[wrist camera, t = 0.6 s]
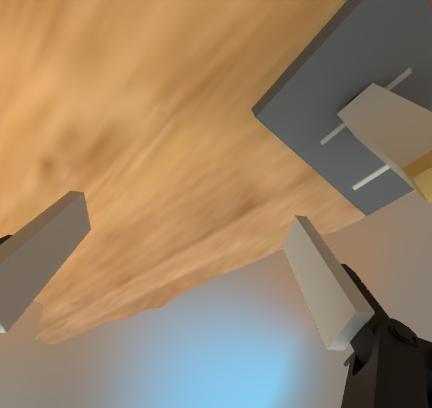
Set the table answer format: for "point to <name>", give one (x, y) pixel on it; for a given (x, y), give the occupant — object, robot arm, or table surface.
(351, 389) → the robot arm
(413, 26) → the board
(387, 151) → the fader tab
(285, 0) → the table surface
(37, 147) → the table surface
